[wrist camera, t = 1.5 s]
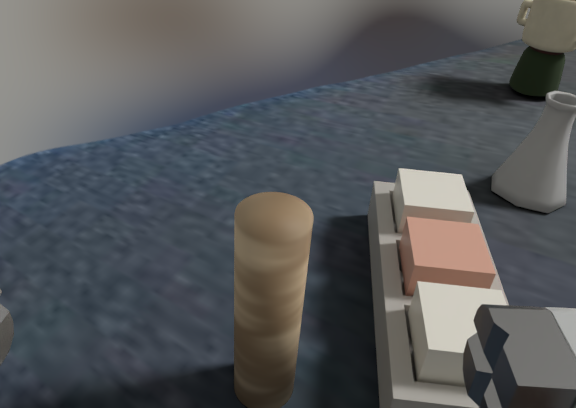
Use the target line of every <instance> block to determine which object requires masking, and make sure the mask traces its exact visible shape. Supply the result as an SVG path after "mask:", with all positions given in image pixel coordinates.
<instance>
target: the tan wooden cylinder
mask: <svg viewBox="0 0 576 408" xmlns="http://www.w3.org/2000/svg"><path fill="white" fill-rule="evenodd" d="M312 226H313V212H312V210H311V209H310V207H309V206H308V205H307V204H306V203H305V202H304V201H302V200H301V199H299V198H297V197H295V196H292V195H289V194H285V193H279V192H264V193H258V194H254V195H252V196H249V197H247V198H245V199H244V200H243V201H241V202H240V203H239V204H238V206H237V207H236V210H235V253H234V390H235V394H236V396H237V398H238V399H239V401H240V402H241V403H242V404H243V405H245V406H246V407H248V408H280V407H282V406H283V405H284V404H285V403H286V402H287V401H288V400H289V399H290V397H291V395H292V392H293V386H294V378H295V369H296V361H297V352H298V344H299V335H300V327H301V319H302V310H303V302H304V293H305V285H306V276H307V268H308V259H309V251H310V243H311V234H312Z"/></svg>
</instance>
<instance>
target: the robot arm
mask: <svg viewBox="0 0 576 408" xmlns="http://www.w3.org/2000/svg"><path fill="white" fill-rule="evenodd" d="M1 293H2V292H1V289H0V295H1ZM473 321H474V324H475V327H476V331H477V333H475V334H474V335H473V336H471V337H470V338H468V339H467V342H466V346H465V349H464V353H463V376H464V383H465V387H466V391H467V395H468V396H469V397H470V398H471V399H472V400H473V401H474V402H475V403H476V404H477V405H478V406H479V408H576V309H575V308H554V307H544V308H542V307H530V306H510V305H490V304H482V305H481V306H480V307H479V308H478V309H477V312H476V314H475V317H474V320H473ZM13 335H14V330H13V320H12V317H11V315H10V312H9V311H8V310H7V309H6V308H5V307H3V306H2V305H1V304H0V365H1V364H2V362H3V360H4V359H5V357H6V356H7V354H8V352H9V350H10V346H11V343H12V339H13Z"/></svg>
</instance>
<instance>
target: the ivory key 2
mask: <svg viewBox="0 0 576 408" xmlns="http://www.w3.org/2000/svg"><path fill="white" fill-rule="evenodd" d="M482 304H490V305H507V304H506V301H505V298H504V295H503V292H502V290H494V289H485V288H476V287H467V286H458V285H448V284H439V283H430V282H421V281H417V284H416V288H415V291H414V294H413V298H412V301H411V304H410V308H409V311H408V317H409V325H410V332H411V340H412V347H413V355H414V362H415V369H416V377H417V382H425V383H433V384H442V385H451V386H459V387H465V383H464V376H463V353H464V349H465V346H466V342H467V339H468V338H470V337H471V336H473V335H474V334H475V333H477V331H476V327H475V324H474V321H473V320H474V317H475V314H476V312H477V309H478V308H479V307H480V306H481V305H482Z"/></svg>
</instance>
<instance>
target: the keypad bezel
mask: <svg viewBox="0 0 576 408" xmlns="http://www.w3.org/2000/svg"><path fill="white" fill-rule="evenodd" d="M394 187H395V183H388V182H379V181H374V184H373V189H372V195H371V200H370V205H369V210H368V230H369V246H370V261H371V277H372V293H373V309H374V325H375V341H376V356H377V372H378V388H379V404H380V408H479V406H478V405H477V404H476V403H475V402H474V401H473V400H472V399H471V398H470V397H469V396H468V395H467V391H466V387H459V386H451V385H442V384H433V383H425V382H417V377H416V369H415V362H414V355H413V347H412V340H411V332H410V325H409V317H408V311H409V308H410V304H411V301H412V298H413V296H406V295H405V288H404V280H403V273H402V265H401V258H400V251H399V245H400V241H401V237H402V233H397V228H396V221H395V213H394V206H393V199H392V196H393V191H394ZM467 192H468V194H469V197H470V200H471V203H472V206H473V209H474V215H473V218H472V221H471V223H473V224H479V226H480V229H481V232H482V235H483V238H484V241H485V243H486V246H487V249H488V252H489V255H490V258H491V261H492V264H493V266H494V269H495V272H496V275H495V278H494V280H493V283H492V285H491V287H490V289H494V290H502V292H503V295H504V298H505V301H506V304H507V305H509V304H508V301H507V299H506V296H505V293H504V290H503V287H502V284H501V282H500V279H499V276H498V273H497V270H496V267H495V264H494V262H493V259H492V256H491V253H490V250H489V247H488V245H487V242H486V239H485V236H484V233H483V230H482V227H481V225H480V222H479V219H478V216H477V213H476V210H475V208H474V205H473V202H472V199H471V196H470V193H469V191H467Z"/></svg>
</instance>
